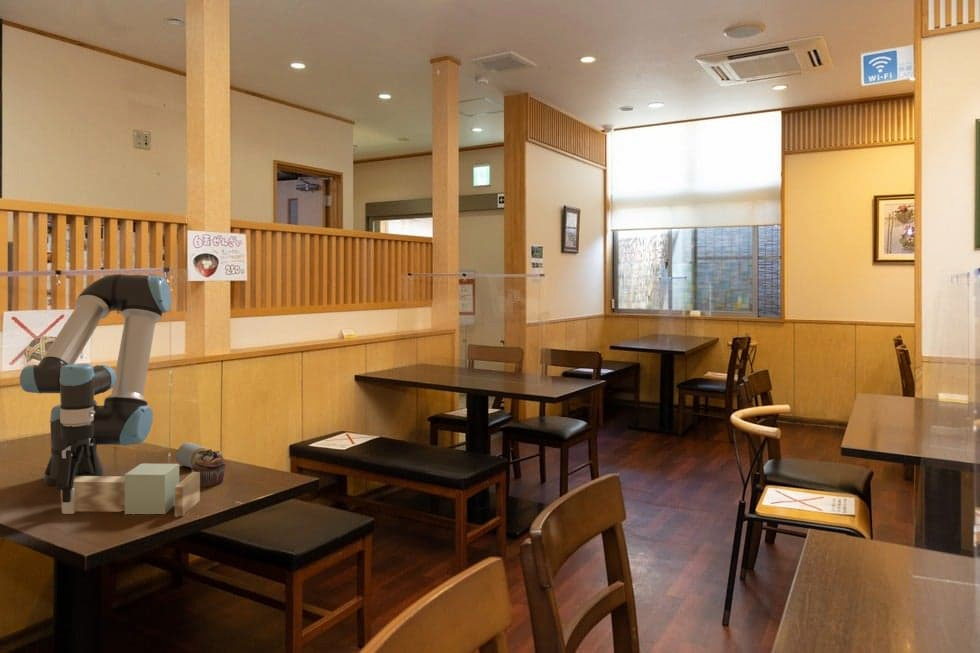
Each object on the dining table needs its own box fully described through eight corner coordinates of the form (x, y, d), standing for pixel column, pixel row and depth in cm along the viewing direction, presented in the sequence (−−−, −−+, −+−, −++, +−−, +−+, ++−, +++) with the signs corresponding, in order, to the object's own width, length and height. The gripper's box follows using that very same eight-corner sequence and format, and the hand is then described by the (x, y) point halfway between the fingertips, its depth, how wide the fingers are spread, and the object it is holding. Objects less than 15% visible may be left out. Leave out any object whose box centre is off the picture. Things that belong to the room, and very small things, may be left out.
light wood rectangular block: (60, 511, 173) (60, 481, 173) (71, 505, 178) (71, 475, 178) (124, 512, 175) (124, 482, 174) (133, 505, 180) (133, 476, 179)
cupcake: (232, 479, 204) (232, 447, 203) (212, 489, 195) (212, 455, 194) (205, 476, 206) (205, 444, 205) (184, 485, 197) (184, 452, 196)
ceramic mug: (191, 472, 210) (192, 448, 209) (175, 467, 214) (175, 444, 213) (220, 465, 219) (220, 442, 219) (203, 460, 223) (204, 438, 223)
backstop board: (174, 517, 172) (174, 486, 172) (192, 500, 185) (192, 471, 185) (182, 517, 172) (182, 487, 172) (199, 500, 185) (199, 472, 185)
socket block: (124, 514, 172) (124, 474, 172) (141, 501, 182) (141, 463, 182) (164, 514, 173) (165, 474, 173) (179, 501, 183) (179, 463, 183)
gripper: (70, 433, 164) (71, 522, 166) (111, 414, 185) (112, 493, 187) (38, 432, 163) (39, 521, 165) (83, 414, 185) (84, 493, 186)
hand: (78, 506), depth 176 cm, fingers open, 9 cm apart
